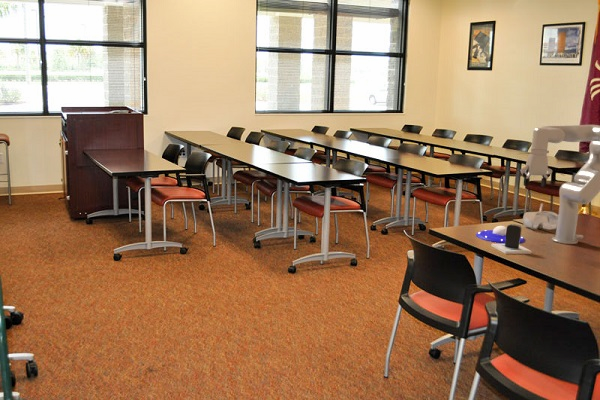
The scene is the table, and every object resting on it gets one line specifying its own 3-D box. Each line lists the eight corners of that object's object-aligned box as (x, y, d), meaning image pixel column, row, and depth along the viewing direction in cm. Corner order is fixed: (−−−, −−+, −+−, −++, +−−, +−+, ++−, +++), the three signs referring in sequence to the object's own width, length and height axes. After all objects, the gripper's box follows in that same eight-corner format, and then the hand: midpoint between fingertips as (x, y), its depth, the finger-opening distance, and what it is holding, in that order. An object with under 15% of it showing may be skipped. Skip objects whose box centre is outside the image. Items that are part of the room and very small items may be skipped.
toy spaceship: (476, 241, 335) (477, 228, 334) (475, 230, 359) (476, 218, 358) (527, 247, 330) (528, 233, 328) (522, 235, 354) (524, 223, 352)
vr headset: (530, 231, 364) (533, 206, 361) (520, 226, 375) (523, 202, 372) (559, 231, 367) (563, 206, 365) (548, 226, 378) (551, 202, 376)
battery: (519, 247, 321) (522, 225, 319) (518, 249, 318) (521, 226, 316) (505, 245, 324) (508, 222, 322) (504, 246, 321) (506, 224, 319)
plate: (516, 245, 329) (516, 243, 329) (531, 253, 316) (531, 251, 316) (491, 245, 326) (491, 243, 326) (505, 253, 313) (505, 251, 312)
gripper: (549, 152, 330) (545, 185, 333) (519, 151, 326) (515, 184, 330) (558, 154, 323) (554, 187, 326) (527, 153, 319) (523, 187, 322)
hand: (534, 186), depth 328 cm, fingers open, 9 cm apart
